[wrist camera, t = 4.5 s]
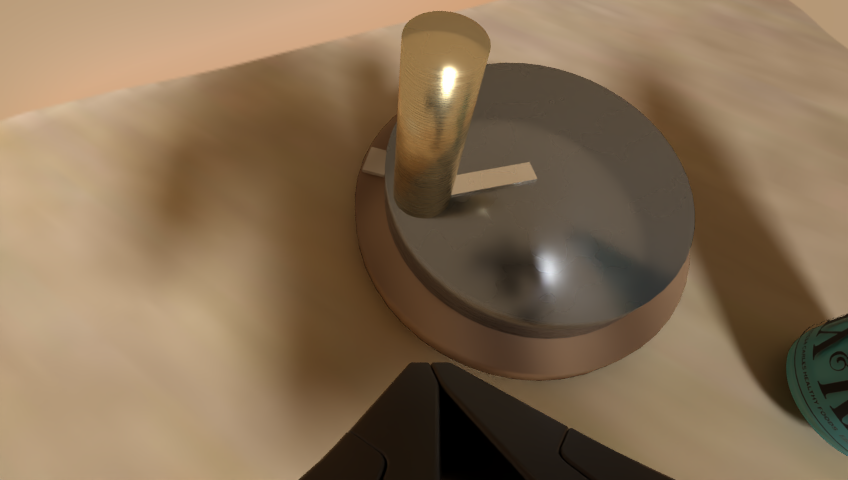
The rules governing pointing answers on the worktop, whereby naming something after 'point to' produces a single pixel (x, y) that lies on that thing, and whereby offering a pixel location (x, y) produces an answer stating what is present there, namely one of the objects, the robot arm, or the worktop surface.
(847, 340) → the beverage bottle
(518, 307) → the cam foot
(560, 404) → the worktop surface
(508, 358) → the stand base
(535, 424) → the robot arm
